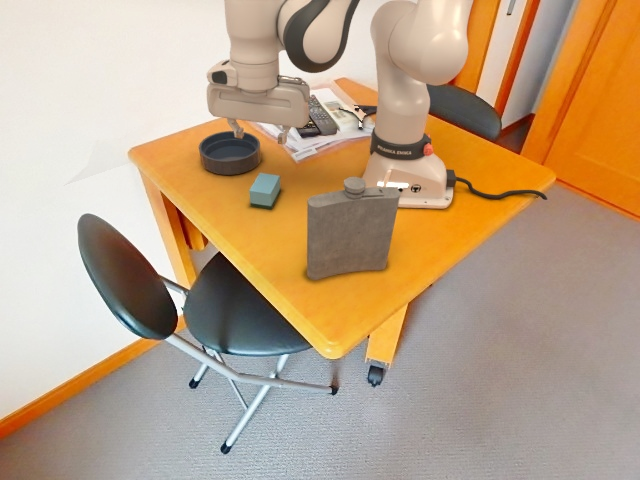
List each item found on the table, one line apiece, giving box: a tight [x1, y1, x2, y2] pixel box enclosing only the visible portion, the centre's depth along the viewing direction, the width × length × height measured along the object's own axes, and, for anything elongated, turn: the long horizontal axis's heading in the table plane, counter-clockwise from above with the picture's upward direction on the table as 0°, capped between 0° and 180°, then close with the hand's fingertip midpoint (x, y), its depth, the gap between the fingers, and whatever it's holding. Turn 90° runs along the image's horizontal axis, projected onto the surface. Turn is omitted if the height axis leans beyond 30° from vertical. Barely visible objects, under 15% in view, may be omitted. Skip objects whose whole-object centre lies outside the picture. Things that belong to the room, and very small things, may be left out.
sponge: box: [248, 172, 282, 211], centre depth 92 cm, size 8×5×4 cm, turn 168°
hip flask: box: [306, 176, 400, 281], centre depth 71 cm, size 16×4×20 cm, turn 103°
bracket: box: [353, 104, 377, 130], centre depth 124 cm, size 14×15×3 cm
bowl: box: [198, 130, 262, 176], centre depth 104 cm, size 16×16×4 cm
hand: (260, 139), depth 83 cm, fingers open, 8 cm apart
